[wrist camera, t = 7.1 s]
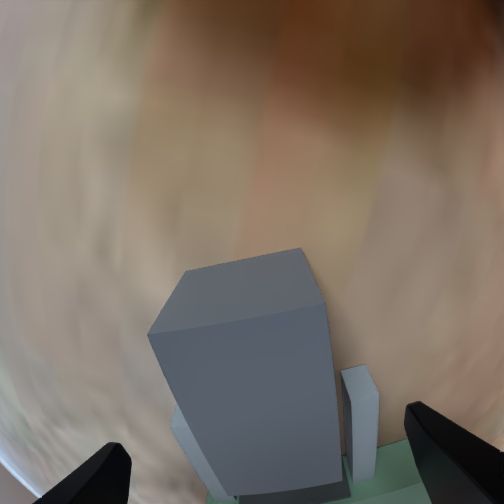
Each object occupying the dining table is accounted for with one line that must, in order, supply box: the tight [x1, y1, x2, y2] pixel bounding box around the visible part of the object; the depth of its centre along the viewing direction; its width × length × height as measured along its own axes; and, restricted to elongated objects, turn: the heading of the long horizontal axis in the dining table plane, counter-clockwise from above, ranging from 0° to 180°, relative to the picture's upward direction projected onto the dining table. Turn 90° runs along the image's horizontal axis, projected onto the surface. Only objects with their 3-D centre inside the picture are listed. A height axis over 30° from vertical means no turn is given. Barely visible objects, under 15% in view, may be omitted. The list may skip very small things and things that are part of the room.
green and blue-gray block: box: [170, 364, 432, 504], centre depth 14 cm, size 15×12×4 cm
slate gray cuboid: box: [147, 248, 342, 496], centre depth 11 cm, size 4×8×5 cm, turn 12°
